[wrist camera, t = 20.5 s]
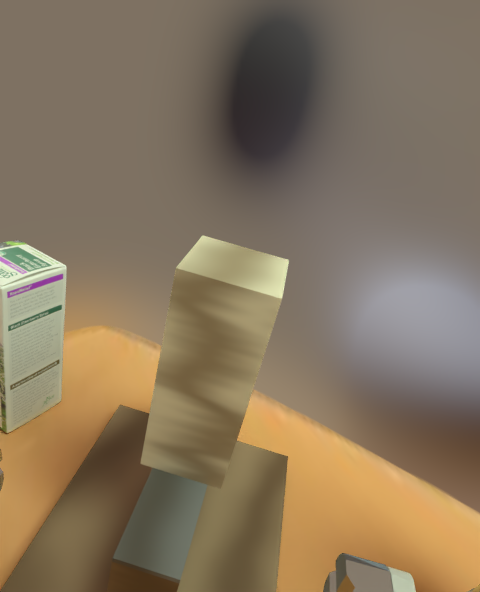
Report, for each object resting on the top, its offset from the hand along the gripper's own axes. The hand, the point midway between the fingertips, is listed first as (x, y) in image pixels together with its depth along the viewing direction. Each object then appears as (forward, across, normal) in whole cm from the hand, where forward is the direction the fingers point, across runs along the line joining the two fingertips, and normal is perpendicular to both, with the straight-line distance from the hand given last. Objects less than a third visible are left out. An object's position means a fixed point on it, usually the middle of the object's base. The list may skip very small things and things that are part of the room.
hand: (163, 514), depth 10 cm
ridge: (+13, +1, +21) cm, 25 cm away
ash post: (+13, +1, +12) cm, 18 cm away
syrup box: (+20, +18, +21) cm, 34 cm away
